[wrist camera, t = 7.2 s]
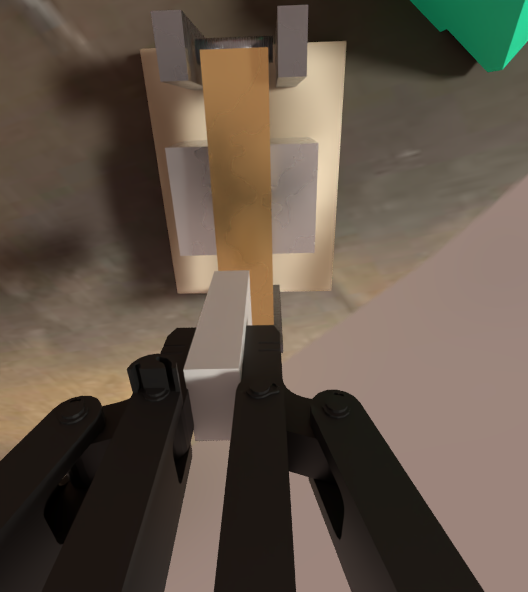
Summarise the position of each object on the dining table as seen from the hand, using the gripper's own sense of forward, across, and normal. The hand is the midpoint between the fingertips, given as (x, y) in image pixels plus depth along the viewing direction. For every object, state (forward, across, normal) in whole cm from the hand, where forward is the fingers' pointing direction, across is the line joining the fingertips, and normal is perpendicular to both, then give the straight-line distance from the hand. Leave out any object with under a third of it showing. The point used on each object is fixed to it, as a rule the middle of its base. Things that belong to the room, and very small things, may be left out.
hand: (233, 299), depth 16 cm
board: (+12, 0, +3) cm, 13 cm away
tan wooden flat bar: (+5, 0, +3) cm, 6 cm away
